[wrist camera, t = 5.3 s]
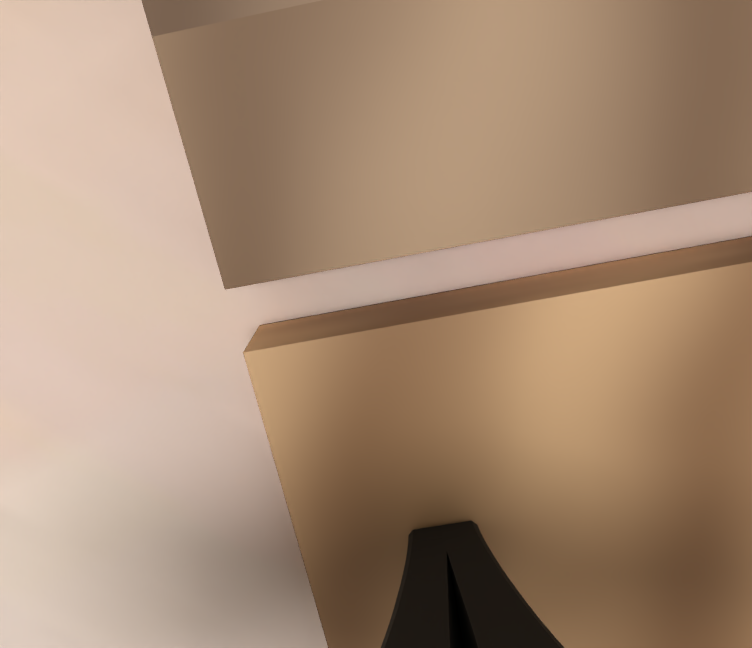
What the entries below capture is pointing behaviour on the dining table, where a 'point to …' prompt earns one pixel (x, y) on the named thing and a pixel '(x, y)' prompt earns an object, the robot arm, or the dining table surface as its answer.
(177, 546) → the dining table surface
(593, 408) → the teak plank
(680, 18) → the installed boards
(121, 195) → the dining table surface
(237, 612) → the dining table surface
